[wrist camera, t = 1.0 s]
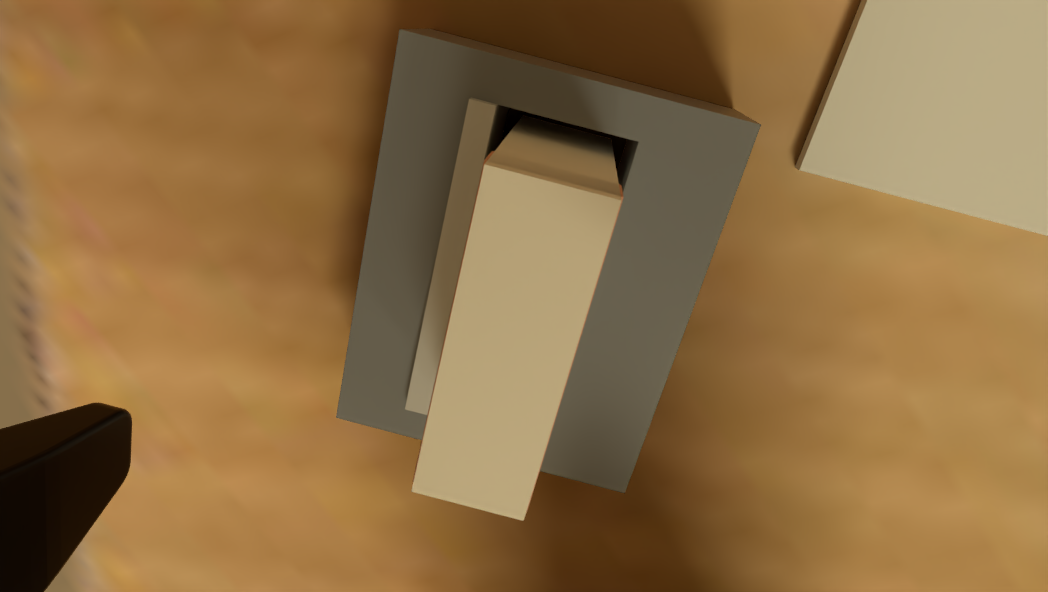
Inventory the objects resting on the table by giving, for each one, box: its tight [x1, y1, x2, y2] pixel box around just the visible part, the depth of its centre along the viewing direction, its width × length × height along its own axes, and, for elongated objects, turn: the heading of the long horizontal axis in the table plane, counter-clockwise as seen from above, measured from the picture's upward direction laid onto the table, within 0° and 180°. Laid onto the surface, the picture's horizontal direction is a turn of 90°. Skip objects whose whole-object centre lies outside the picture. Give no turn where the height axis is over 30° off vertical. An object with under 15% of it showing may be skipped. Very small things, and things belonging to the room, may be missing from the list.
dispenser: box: [336, 29, 761, 493], centre depth 18 cm, size 10×8×3 cm
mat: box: [795, 0, 1048, 236], centre depth 16 cm, size 8×8×1 cm
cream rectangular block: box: [411, 116, 624, 521], centre depth 16 cm, size 7×2×7 cm, turn 166°
